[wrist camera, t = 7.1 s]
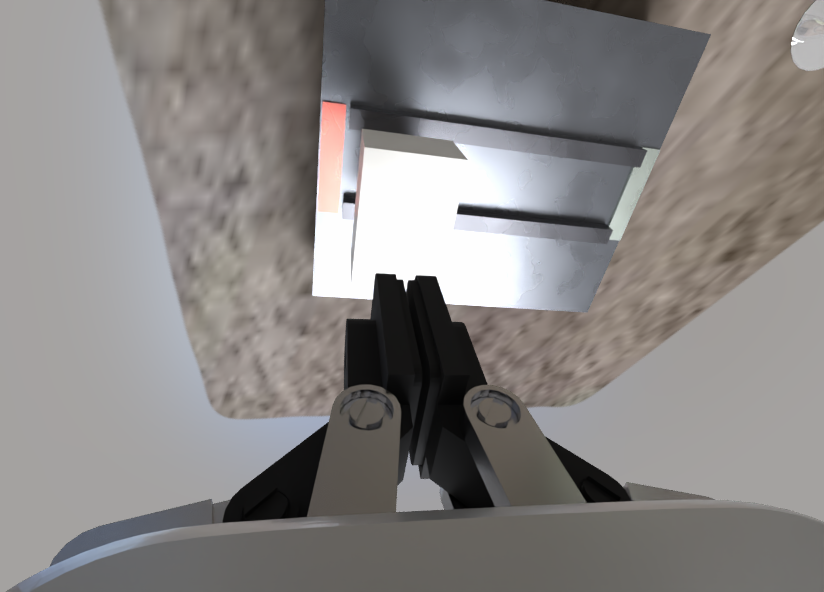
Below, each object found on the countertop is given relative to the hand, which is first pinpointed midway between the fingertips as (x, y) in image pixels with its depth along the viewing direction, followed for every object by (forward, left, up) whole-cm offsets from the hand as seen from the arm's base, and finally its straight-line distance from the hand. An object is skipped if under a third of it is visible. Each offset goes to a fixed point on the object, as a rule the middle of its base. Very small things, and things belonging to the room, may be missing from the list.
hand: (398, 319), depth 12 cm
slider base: (0, +7, -21) cm, 22 cm away
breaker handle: (0, +1, -15) cm, 15 cm away
